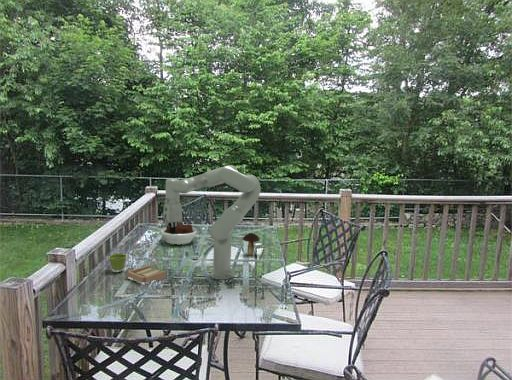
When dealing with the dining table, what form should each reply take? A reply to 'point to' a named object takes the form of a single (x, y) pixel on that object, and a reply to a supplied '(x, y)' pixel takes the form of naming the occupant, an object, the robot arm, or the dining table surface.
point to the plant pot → (117, 261)
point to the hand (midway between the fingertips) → (172, 233)
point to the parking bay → (148, 278)
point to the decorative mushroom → (251, 242)
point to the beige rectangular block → (148, 272)
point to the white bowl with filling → (179, 234)
